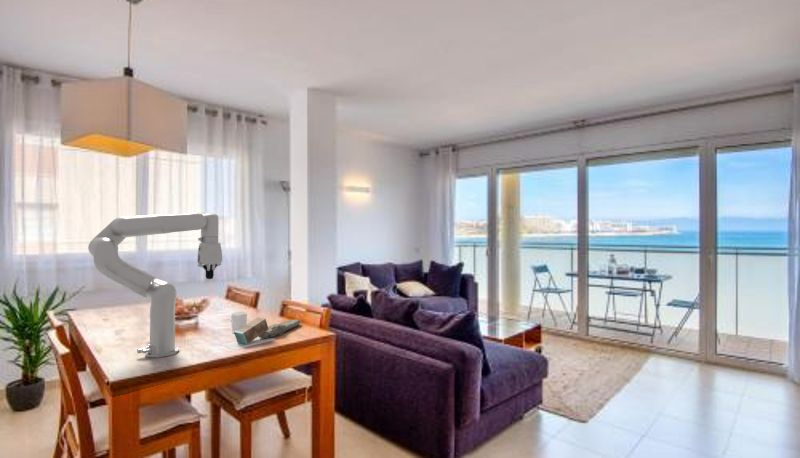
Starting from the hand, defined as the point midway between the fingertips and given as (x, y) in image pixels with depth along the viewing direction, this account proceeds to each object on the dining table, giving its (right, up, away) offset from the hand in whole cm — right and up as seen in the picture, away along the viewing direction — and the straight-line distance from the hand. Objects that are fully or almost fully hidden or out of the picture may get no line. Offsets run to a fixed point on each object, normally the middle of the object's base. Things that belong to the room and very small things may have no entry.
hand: (209, 278), depth 194 cm
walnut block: (+15, -28, -2) cm, 32 cm away
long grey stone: (+27, -31, +23) cm, 47 cm away
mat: (+18, -31, +3) cm, 36 cm away
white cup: (+6, -31, +21) cm, 38 cm away
